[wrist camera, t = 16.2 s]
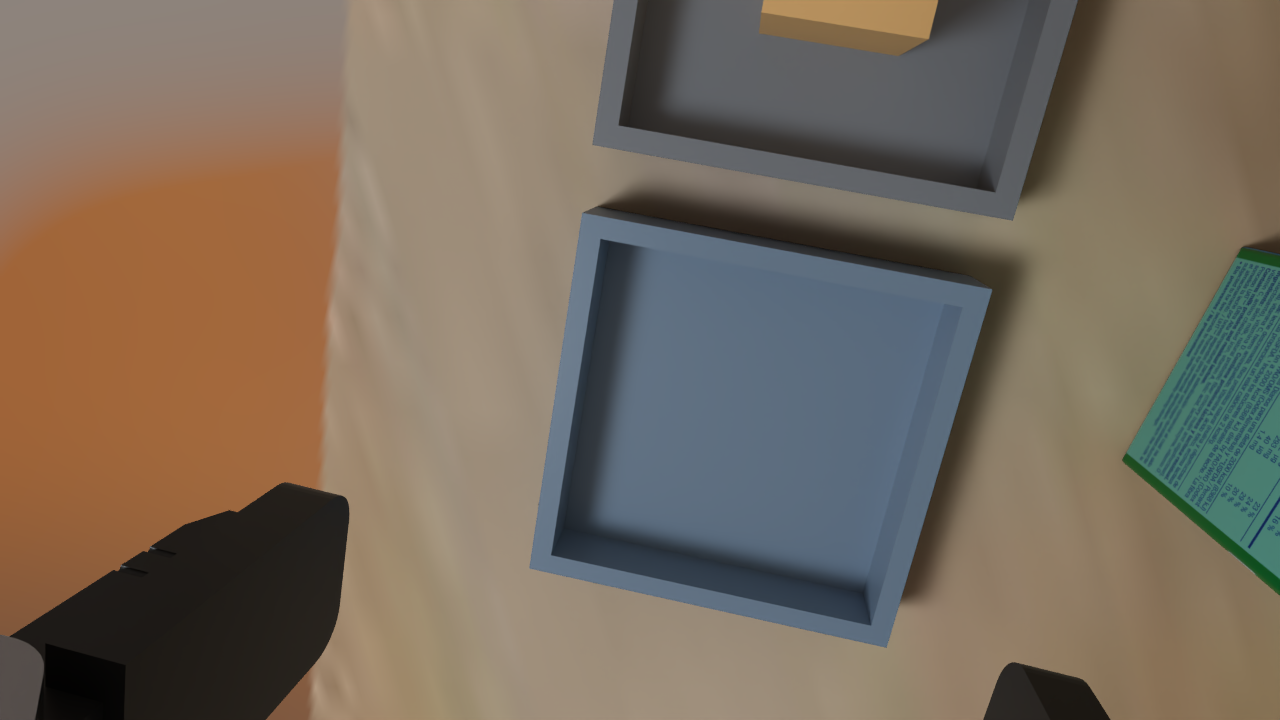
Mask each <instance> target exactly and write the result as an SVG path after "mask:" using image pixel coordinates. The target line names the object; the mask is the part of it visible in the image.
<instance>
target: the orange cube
mask: <svg viewBox="0 0 1280 720" xmlns="http://www.w3.org/2000/svg"><path fill="white" fill-rule="evenodd" d="M937 4H938V0H764V1H763V6H762V11H761V19H760V28H759V33H760V34H766V35H772V36H778V37H784V38H790V39H796V40H803V41H809V42H815V43H821V44H827V45H833V46H839V47H846V48H852V49H858V50H864V51H870V52H876V53H882V54H888V55H895V56H900V55H901V54H903V53H905V52H907V51H909V50H910V49H912V48H914V47H916V46H917V45H919V44H921V43H923V42H925V41H926V40H928V39H929V36H930V32H931V28H932V24H933V20H934V16H935V12H936V8H937Z"/></svg>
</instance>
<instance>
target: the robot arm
mask: <svg viewBox="0 0 1280 720" xmlns="http://www.w3.org/2000/svg"><path fill="white" fill-rule="evenodd" d="M348 524H349V505H348V502H347V499H346V498H345V497H343V496H341V495H337V494H332V493H328V492H324V491H320V490H316V489H312V488H308V487H304V486H300V485H296V484H292V483H286V482H285V483H281V484H279V485H277V486H276V487H274V488H273V489H271V490H270V491H268V492H267V493H265V494H264V495H263V496H261V497H260V498H258V499H257V500H256V501H254V502H252V503H251V504H249V505H248V506H247V507H245V508H243V509H242V510H240V511H239V512H234V511H230V510H229V511H226V512H223V513H219V514H216V515H213V516H210V517H207V518H204V519H201V520H198V521H195V522H191V523H188V524H185V525H183V526H182V527H180V528H179V529H177V530H176V531H174V532H172V533H171V534H169V535H168V536H166V537H165V538H163V539H161V540H160V541H158V542H157V543H155V544H154V545H152V546H150V550H149V551H148V552H145V551H143V552H141V553H140V554H138V555H136V556H135V557H133V558H132V559H130V560H129V561H127V562H126V563H124V564H122V565H121V567H120V570H119V571H115V570H113V571H111V572H110V573H108V574H107V575H105V576H104V577H102V578H100V579H99V580H97V581H96V582H94V583H92V584H91V585H89V586H88V587H87V588H85V589H83V590H81V591H80V592H78V593H77V594H75V595H74V596H72V597H71V598H69V599H67V600H66V601H64V602H63V603H61V604H60V605H58V606H56V607H55V608H53V609H52V610H50V611H49V612H47V613H45V614H44V615H42V616H41V617H39V618H38V619H36V620H35V621H33V622H32V623H30V624H28V625H27V626H25V627H24V628H22V629H20V630H19V631H17V632H16V633H14V634H13V635H11V636H9V637H8V636H4V635H0V720H266V719H267V718H268V716H269V715H270V714H271V713H272V712H273V711H274V709H275V708H276V707H277V706H278V705H279V704H280V703H281V701H282V700H283V699H284V698H285V697H286V696H287V695H288V694H289V692H290V691H291V690H292V689H293V688H294V687H295V686H296V684H297V683H298V682H299V681H300V680H301V679H302V678H303V676H304V675H305V674H306V673H307V672H308V671H309V670H310V668H311V667H312V666H313V665H314V664H315V663H316V661H317V660H318V659H319V658H320V656H321V655H322V653H323V651H324V650H325V648H326V646H327V644H328V642H329V640H330V638H331V635H332V633H333V630H334V627H335V624H336V621H337V617H338V613H339V606H340V598H341V588H342V579H343V570H344V561H345V552H346V542H347V533H348ZM983 720H1110V718H1109V717H1108V715H1107V714H1106V712H1105V710H1104V709H1103V707H1102V706H1101V704H1100V703H1099V701H1098V699H1097V698H1096V696H1095V695H1094V693H1093V692H1092V690H1091V688H1090V687H1089V686H1088V684H1087V683H1086V682H1085V681H1084V680H1082V679H1080V678H1077V677H1072V676H1068V675H1064V674H1060V673H1056V672H1052V671H1048V670H1044V669H1040V668H1036V667H1032V666H1028V665H1024V664H1019V663H1015V662H1014V663H1010V664H1008V665H1007V666H1006V667H1005V668H1004V669H1003V670H1002V672H1001V674H1000V676H999V678H998V680H997V683H996V686H995V689H994V691H993V694H992V697H991V700H990V703H989V705H988V708H987V711H986V714H985V717H984V719H983Z"/></svg>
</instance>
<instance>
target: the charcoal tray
mask: <svg viewBox="0 0 1280 720" xmlns="http://www.w3.org/2000/svg"><path fill="white" fill-rule="evenodd" d="M763 1H764V0H614V3H613V10H612V17H611V23H610V30H609V37H608V44H607V50H606V57H605V64H604V71H603V77H602V84H601V91H600V97H599V104H598V111H597V118H596V124H595V131H594V138H593V144H592V145H596V146H602V147H607V148H613V149H618V150H624V151H629V152H635V153H640V154H646V155H652V156H657V157H663V158H668V159H674V160H679V161H685V162H690V163H696V164H701V165H707V166H713V167H718V168H724V169H729V170H735V171H740V172H746V173H751V174H757V175H763V176H768V177H774V178H779V179H785V180H790V181H796V182H801V183H807V184H812V185H818V186H824V187H829V188H835V189H840V190H846V191H851V192H857V193H862V194H868V195H873V196H879V197H885V198H890V199H896V200H901V201H907V202H912V203H918V204H923V205H929V206H934V207H940V208H946V209H951V210H957V211H962V212H968V213H973V214H979V215H984V216H990V217H996V218H1001V219H1007V220H1012V221H1013V218H1014V215H1015V212H1016V208H1017V205H1018V201H1019V198H1020V195H1021V191H1022V188H1023V185H1024V181H1025V178H1026V174H1027V171H1028V168H1029V164H1030V161H1031V158H1032V154H1033V151H1034V147H1035V144H1036V141H1037V137H1038V134H1039V131H1040V127H1041V124H1042V120H1043V117H1044V114H1045V110H1046V107H1047V103H1048V100H1049V97H1050V93H1051V90H1052V87H1053V83H1054V80H1055V76H1056V73H1057V70H1058V66H1059V63H1060V60H1061V56H1062V53H1063V49H1064V46H1065V43H1066V39H1067V36H1068V32H1069V29H1070V26H1071V22H1072V19H1073V16H1074V12H1075V9H1076V5H1077V2H1078V0H938V4H937V8H936V12H935V16H934V20H933V24H932V28H931V32H930V36H929V39H928V40H926V41H925V42H923V43H921V44H919V45H917V46H916V47H914V48H912V49H910V50H909V51H907V52H905V53H903V54H901V55H900V56H895V55H888V54H882V53H876V52H870V51H864V50H858V49H852V48H846V47H839V46H833V45H827V44H821V43H815V42H809V41H803V40H796V39H790V38H784V37H778V36H772V35H766V34H760V33H759V28H760V19H761V11H762V6H763Z"/></svg>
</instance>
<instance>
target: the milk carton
mask: <svg viewBox="0 0 1280 720" xmlns="http://www.w3.org/2000/svg"><path fill="white" fill-rule="evenodd" d="M1122 461H1123V462H1124V463H1125V464H1126V465H1127V466H1128V467H1130V468H1131V469H1132V470H1133V471H1134V472H1136V473H1137V474H1138V475H1139V476H1140V477H1141V478H1143V479H1144V480H1145V481H1146V482H1147V483H1148V484H1150V485H1151V486H1152V487H1153V488H1154V489H1155V490H1157V491H1158V492H1159V493H1160V494H1161V495H1162V496H1164V497H1165V498H1166V499H1167V500H1168V501H1170V502H1171V503H1172V504H1173V505H1174V506H1175V507H1177V508H1178V509H1179V510H1180V511H1181V512H1182V513H1184V514H1185V515H1186V516H1187V517H1188V518H1189V519H1191V520H1192V521H1193V522H1194V523H1195V524H1196V525H1198V526H1199V527H1200V528H1201V529H1202V530H1203V531H1205V532H1206V533H1207V534H1208V535H1209V536H1211V537H1212V538H1213V539H1214V540H1215V541H1216V542H1218V543H1219V544H1220V545H1221V546H1222V547H1223V548H1225V549H1226V550H1227V551H1228V552H1229V553H1230V554H1232V555H1233V556H1234V557H1235V558H1236V559H1237V560H1239V561H1240V562H1241V563H1242V564H1243V565H1245V566H1246V567H1247V568H1248V569H1249V570H1250V571H1252V572H1253V573H1254V574H1255V575H1256V576H1257V577H1259V578H1260V579H1261V580H1262V581H1263V582H1264V583H1266V584H1267V585H1268V586H1269V587H1270V588H1271V589H1273V590H1274V591H1275V592H1276V593H1277V594H1279V595H1280V254H1277V253H1272V252H1268V251H1263V250H1258V249H1253V248H1249V247H1242V248H1241V250H1240V252H1239V253H1238V255H1237V257H1236V259H1235V260H1234V262H1233V264H1232V266H1231V268H1230V269H1229V271H1228V273H1227V275H1226V276H1225V278H1224V280H1223V282H1222V284H1221V285H1220V287H1219V289H1218V291H1217V292H1216V294H1215V296H1214V298H1213V300H1212V301H1211V303H1210V305H1209V307H1208V308H1207V310H1206V312H1205V314H1204V315H1203V317H1202V319H1201V321H1200V323H1199V324H1198V326H1197V328H1196V330H1195V331H1194V333H1193V335H1192V337H1191V339H1190V340H1189V342H1188V344H1187V346H1186V347H1185V349H1184V351H1183V353H1182V355H1181V356H1180V358H1179V360H1178V362H1177V363H1176V365H1175V367H1174V369H1173V371H1172V372H1171V374H1170V376H1169V378H1168V379H1167V381H1166V383H1165V385H1164V387H1163V388H1162V390H1161V392H1160V394H1159V395H1158V397H1157V399H1156V401H1155V403H1154V404H1153V406H1152V408H1151V410H1150V411H1149V413H1148V415H1147V417H1146V419H1145V420H1144V422H1143V424H1142V426H1141V427H1140V429H1139V431H1138V433H1137V435H1136V436H1135V438H1134V440H1133V442H1132V443H1131V445H1130V447H1129V449H1128V451H1127V452H1126V454H1125V456H1124V458H1123V459H1122Z"/></svg>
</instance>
